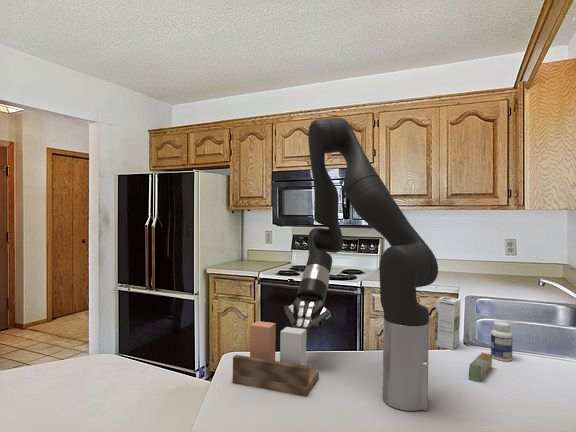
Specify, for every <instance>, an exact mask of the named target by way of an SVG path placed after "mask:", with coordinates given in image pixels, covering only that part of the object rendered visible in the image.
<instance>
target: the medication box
mask: <svg viewBox="0 0 576 432" xmlns="http://www.w3.org/2000/svg"><path fill="white" fill-rule="evenodd" d="M492 364H493V358H492V355H491V353H490V354H489V353H486V352H481V353H480V354H479V355H478V356H477V357H476V358H475V359H474V360H473V361H471V363H469V368H468V380H469V381H471V382H475V383H480V382H481V381H482V380H483V379H484V378H485V376H487V374H488V373H489V372H490V371H491V369H492Z"/></svg>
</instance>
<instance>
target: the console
mask: <svg viewBox="0 0 576 432" xmlns="http://www.w3.org/2000/svg"><path fill="white" fill-rule="evenodd" d="M319 378H320V370H319V369H314V368H310V366H308V365H306V366H304V365H298V364H291V363H285V362H280V360H279V361H277V360H275V361H272V360H266V359H260V358H253V357H250V356H245V355H241V354H240V355H239V354H235V355H234V356H232V381H231V383H233V384H238V385H243V386H248V387H254V388H259V389H264V390H271V391H276V392H280V393H284V394H285V393H286V394H290V395H297V396H302V397H308V396H309V393H310V392H311V391H312V390H313V388H314V386H315V385H316V384H317V382H318V380H319Z"/></svg>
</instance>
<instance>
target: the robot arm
mask: <svg viewBox="0 0 576 432" xmlns="http://www.w3.org/2000/svg"><path fill="white" fill-rule="evenodd" d="M307 138H308V142H307V144H308V151H309V152H308V153H309V158H310V160H309V161H310V166H311V174H312V180H313V193H314V196H313V197H314V201H313V202H314V206H313V207H314V208H313V211H314V212H313V214H314V215H313V216H314V217H313V218H314V220H315V222H316V223H317V224H320V225H322V226H325V227H327V228H325V227H323V228H322V227H314V228H312V229H311V230H310V231H309V233H308V237H307V243H308V258H307V261H306V265H305V269H304V271H303V273H302V277H301V280H300V283H299V287H298V290H297V293H296V298H295V299H294V301H293V303H292V304H291V305H286V304H285V305H284V306H283V309H284V312H285V314H286V316H287V318H288V320H289V322H290V324H291V326H292V328H299V329H306V342H307V340H308V336H309V333H310V331H314V332H316V331H317V330H318V329H319V328H321V327H322V326H324V324H325V323H326V322H328V321H329V320H330V319H332V314H331V312H330V310H329V309H327V308H326V305H325V301H326V297H327V293H328V292H327V291H328V288H329V286H330V283H329V282H330V275H331V270H332V266H333V257H332V256H331V255H330V253H331V254H337V253H339V252H340V251H341V250H342V248H343V246H344V238H343V232H342V230H341V225H340V221H339V204H340V203H339V201H340V197H339V192H338V190H337V187H336V185H335V183H334V181H333V180H332V178H331V176H330V175H329V173H328V170H327V168H326V161H325V159H326V158H325V157H326V154H333V153H339V154H340V155H341V156H342V157H343V159H344V160H345V163H346V170H345V175H344V181H343V190H344V193H345V196H346V197H347V199H348V201H349V203H350V204H351V206H352V208H353V210H354V211H355V213H356V214H357V215H358V217H360V218H361V219H362V220H363V221H364V222H365V223H367V225H369V226H370V227H371V228H373V229H374V230H375V231H376V232H378V234H380V235H381V236H382V237H383V238H384V239H385V240H386V241H387V243H388V245H390V246H389V247H387V248H386V249H385V250H384V251H383V253H382V255H381V258H380V262H379V297H380V305H381V308H382V310H383V337H382V338H383V340H382V341H383V345H382V349H383V350H382V387H381V389H382V396H381V397H382V400H383V402H384V403H385V404H386V405H388V406H389V407H392V408H394V409H398V410H401V411H405V412H406V411H407V412H408V411H409V412H416V411H424V412H425V411H426V412H427V411H428V402H429V401H428V399H429V397H428V395H429V392H428V391H429V339H430V337H429V336H430V335H429V334H430V333H429V331H430V310H429V309H428V308H427V307H426V306H424V305H422V304H419V302H418V301H417V300H418V299H417V288H423V287H426V286H429V285H432V284H433V283H434V282H435V281H436V280H437V277H438V274H439V264H438V261H437V258H436V256H435V254H434V253H433V250H432V249H431V248H430V246H429V245H428V244H427V243H426V242H425V240H424V239H423V238H422V237H421V235H420V234H419V233H418V232H417V230H415V228H414V226H412V224H411V223H410V222H409V220H408V219H407V217H406V216H405V215H404V213H403V211H402V209H401V208H400V207H399V205H398V204H397V202H396V201H395V199H394V198H393V196H392V194H391V193H390V190H389V189H388V188H387V186H386V184H385V183H384V182H383V180H382V178H381V177H380V175H379V174H378V172H377V171H376V170H375V168H374V166H373V165H372V163H371V162H370V160H369V158H368V157H367V155H366V154H365V152H364V150H363V148H362V146H361V144H360V141H359V139H358V137H357V136H356V133H355V131H354V129H353V127H352V125H351V124H350V122H349V121H348V120H347V119H345V118H344V117H343V118H342V117H331V118H319V119H315V120H313V121H312V122H310V125H309V126H308V132H307ZM294 310H295V311H294ZM295 312H296V315H297V320H296V319H295V317H294V313H295Z"/></svg>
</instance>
